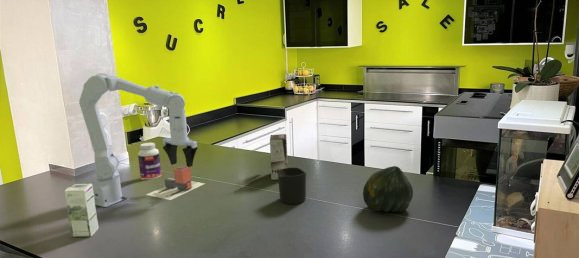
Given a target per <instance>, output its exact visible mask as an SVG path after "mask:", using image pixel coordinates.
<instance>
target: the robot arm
mask: <svg viewBox="0 0 579 258" xmlns="http://www.w3.org/2000/svg"><path fill="white" fill-rule="evenodd" d="M108 91H109V92H115V91H123V92H126V93H131V94H134V95H137V96H141V97H143V98H144V99H145V101H146V103H151V104H153V105H156V106H160V107H162V108H167V109H168V120H169V132H170V137H166V138H162V145H164V146H162V149H163V150H164V152H165V154H166V155H167V157H168V160H169V162H170V165H172V166H173V165H176V164H177V162H178V154H177V152H178V146H179V147H184V148H182V152H183V155H184V157H185V162H186V164H185V165H186V166H187V167H190V168H191V167H193V165H194V158H195V156H196V153H197V151H198V148H199V147H198V141H196V140H192V139H190V138H189V137H188V127H187V126H188V125H187V116H186V109H185V106H186V104H185V103H186V102H185V98H184V96H183V95H182V94H179V92H174V91H172V90H170V91H168V90H166V89H162V88H160V86H159V85H157V84H156V85H155V86H154V85H151V86H149V87H145V86H143V85H140V84H137V83H134V82H133V81H129V80H127V79H125V78H124V79H123V78H121V77H118V76H115V75H108V74H106V73H97V74H96V75H92V76H90V77H88V79H87V80H86V81H85V83H84V84H83V88H82V91H81V94H80V96H79V101H78V103H79V106H80V110H81V113H82V116H83V119H84V123H85V126H86V130H87V132H88V136H89V139H90V141H91V145H92V149H93V151H94V157H93V159H94V164H95V166H94V173H95V175H96V179H94V181H92V182H90V184H92V186H93V193H94V201H95V206H99V207H103V208H107V207H110V206H113V205H115V204H117V203H119V202H122V201H125V200H127V199H128V197H125V196H123V192H122V184H121V178H120V172H119V171H118V170H117V169H118V168H119V164H120V163H119V160H118V157H116V156H115V154H114V151H113V150H112V148H111V147H110V144H109V141H108V138H107V134H106V131H105V127H104V124H103V121H102V117H101V114H100V110H99V107H98V102H99V100H100V99H101V98H102V97H103V95H104V94H105V93H107V92H108Z"/></svg>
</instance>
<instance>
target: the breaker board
mask: <svg viewBox="0 0 579 258" xmlns="http://www.w3.org/2000/svg"><path fill="white" fill-rule="evenodd" d="M190 181H191V185H192V188H191V189H189V190H187V191H183V190H178V189H177V187H176V188H174V189H172V188H167V187H165V186H162V187H160V188H158V189H155V190H154V191H151V192H148V193H146V194H145V195H146V196H150V197H155V198H158V199H164V200H169V201H171V200H174V199H176V198H178V197H180V196H182V195H184V194H186V193H189V192H190V191H193V190H195V189H197V188H199V187H201V186H203V185H205V184H206V183H205V182H204V183H203V182H199V181H193V180H190Z"/></svg>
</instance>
